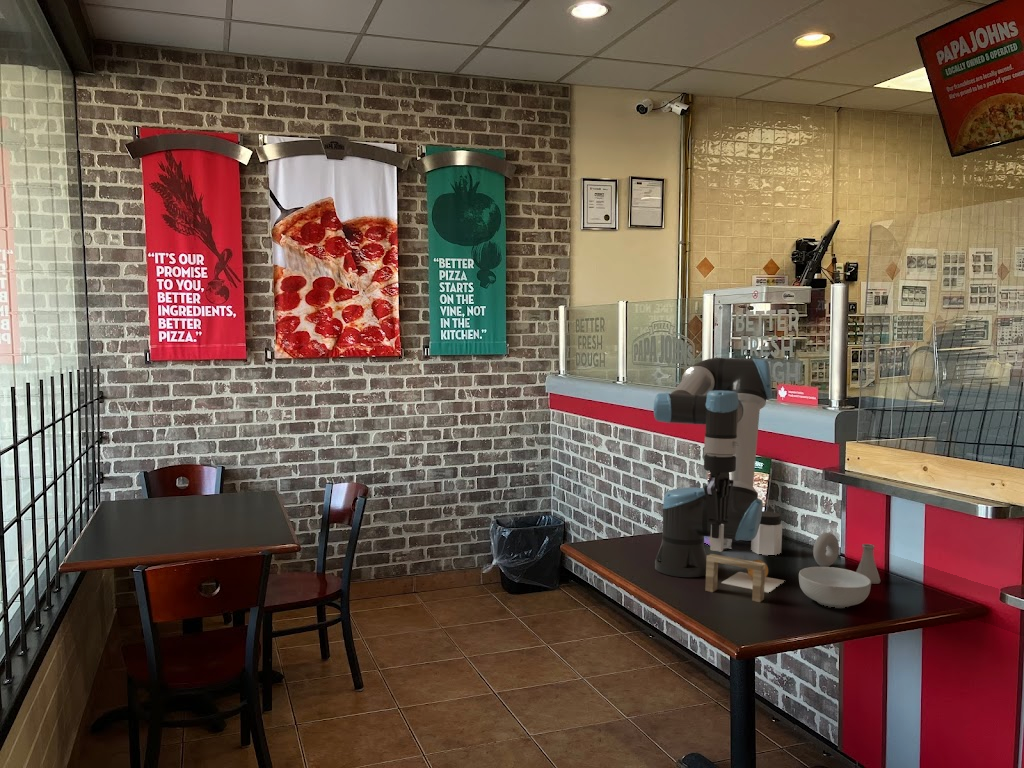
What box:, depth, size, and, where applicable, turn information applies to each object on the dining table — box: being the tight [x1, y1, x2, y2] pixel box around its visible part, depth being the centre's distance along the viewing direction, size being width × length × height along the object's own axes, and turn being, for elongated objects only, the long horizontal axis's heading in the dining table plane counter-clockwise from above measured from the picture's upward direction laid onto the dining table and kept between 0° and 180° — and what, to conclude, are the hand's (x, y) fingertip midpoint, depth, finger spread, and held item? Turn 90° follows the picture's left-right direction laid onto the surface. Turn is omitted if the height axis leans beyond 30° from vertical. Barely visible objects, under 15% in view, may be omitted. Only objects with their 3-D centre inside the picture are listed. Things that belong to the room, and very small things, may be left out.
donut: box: [812, 532, 840, 567], centre depth 242 cm, size 10×4×10 cm, turn 125°
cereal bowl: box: [798, 566, 872, 609], centre depth 209 cm, size 17×17×7 cm
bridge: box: [704, 553, 765, 603], centre depth 214 cm, size 3×14×9 cm, turn 54°
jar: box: [750, 510, 783, 556], centre depth 256 cm, size 9×8×12 cm
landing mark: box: [720, 571, 786, 594], centre depth 225 cm, size 13×13×1 cm
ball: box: [746, 559, 769, 578], centre depth 227 cm, size 6×6×6 cm
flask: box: [855, 543, 882, 585], centre depth 229 cm, size 7×7×10 cm
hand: (716, 550), depth 203 cm, fingers closed
